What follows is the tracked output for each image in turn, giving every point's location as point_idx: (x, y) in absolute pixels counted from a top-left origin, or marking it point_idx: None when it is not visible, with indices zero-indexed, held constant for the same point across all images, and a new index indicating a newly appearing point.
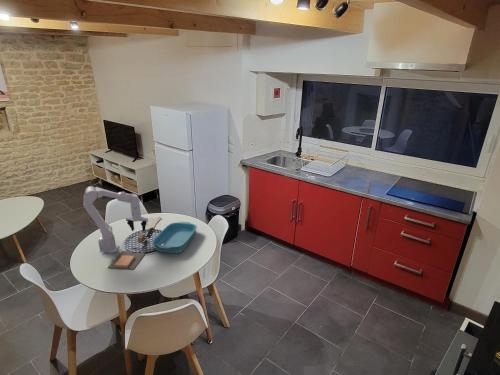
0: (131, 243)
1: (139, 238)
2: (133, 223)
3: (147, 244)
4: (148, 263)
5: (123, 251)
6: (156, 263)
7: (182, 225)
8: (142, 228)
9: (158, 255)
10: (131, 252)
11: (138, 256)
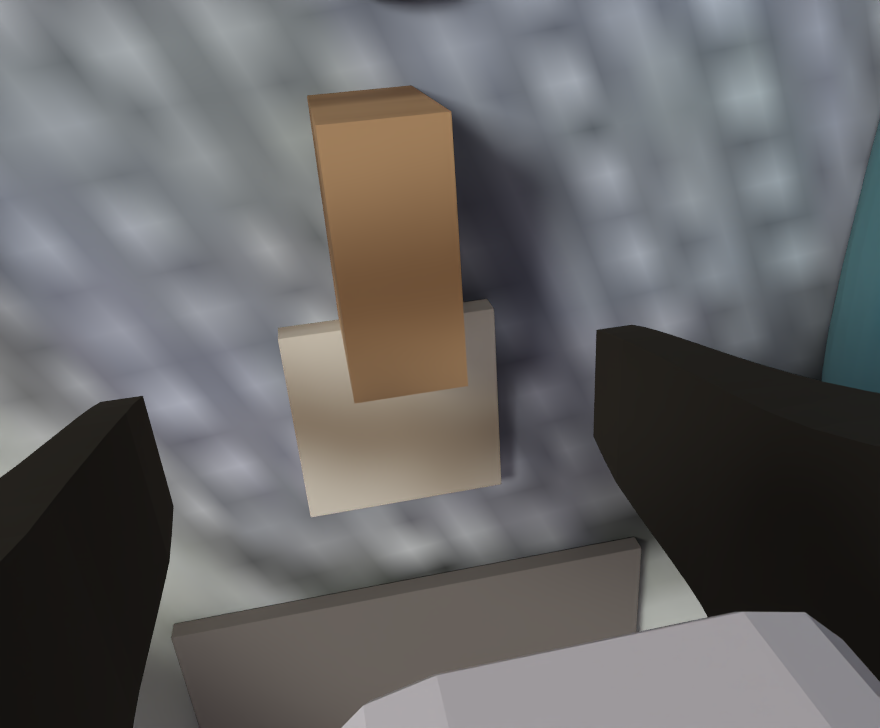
0: (146, 331)
1: (407, 383)
2: (35, 565)
3: (549, 281)
4: None
5: (217, 642)
6: None
7: None
8: (674, 555)
9: None
10: (391, 623)
11: None
